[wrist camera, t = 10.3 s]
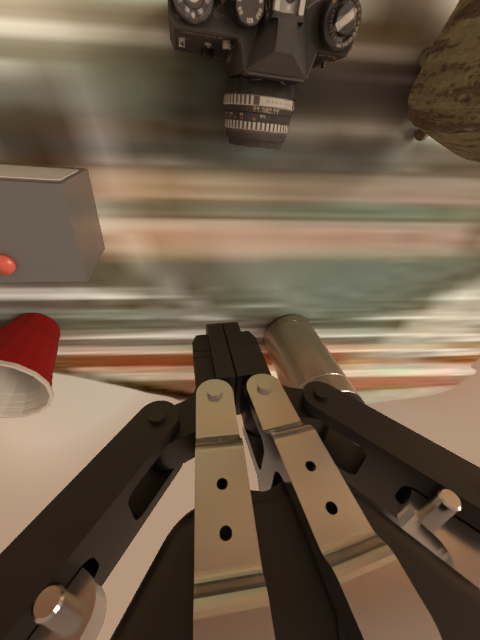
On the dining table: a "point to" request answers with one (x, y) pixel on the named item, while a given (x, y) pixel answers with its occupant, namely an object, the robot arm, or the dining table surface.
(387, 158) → the dining table surface
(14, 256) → the camera body
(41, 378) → the plastic cup
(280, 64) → the camera
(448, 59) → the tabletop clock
